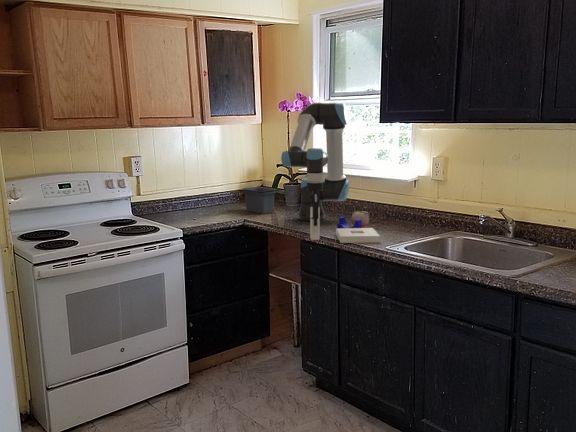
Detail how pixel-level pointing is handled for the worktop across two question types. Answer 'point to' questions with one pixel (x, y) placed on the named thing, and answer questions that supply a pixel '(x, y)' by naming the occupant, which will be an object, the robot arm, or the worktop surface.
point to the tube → (312, 235)
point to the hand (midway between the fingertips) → (314, 231)
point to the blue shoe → (344, 224)
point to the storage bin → (259, 199)
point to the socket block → (357, 235)
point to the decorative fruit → (360, 217)
